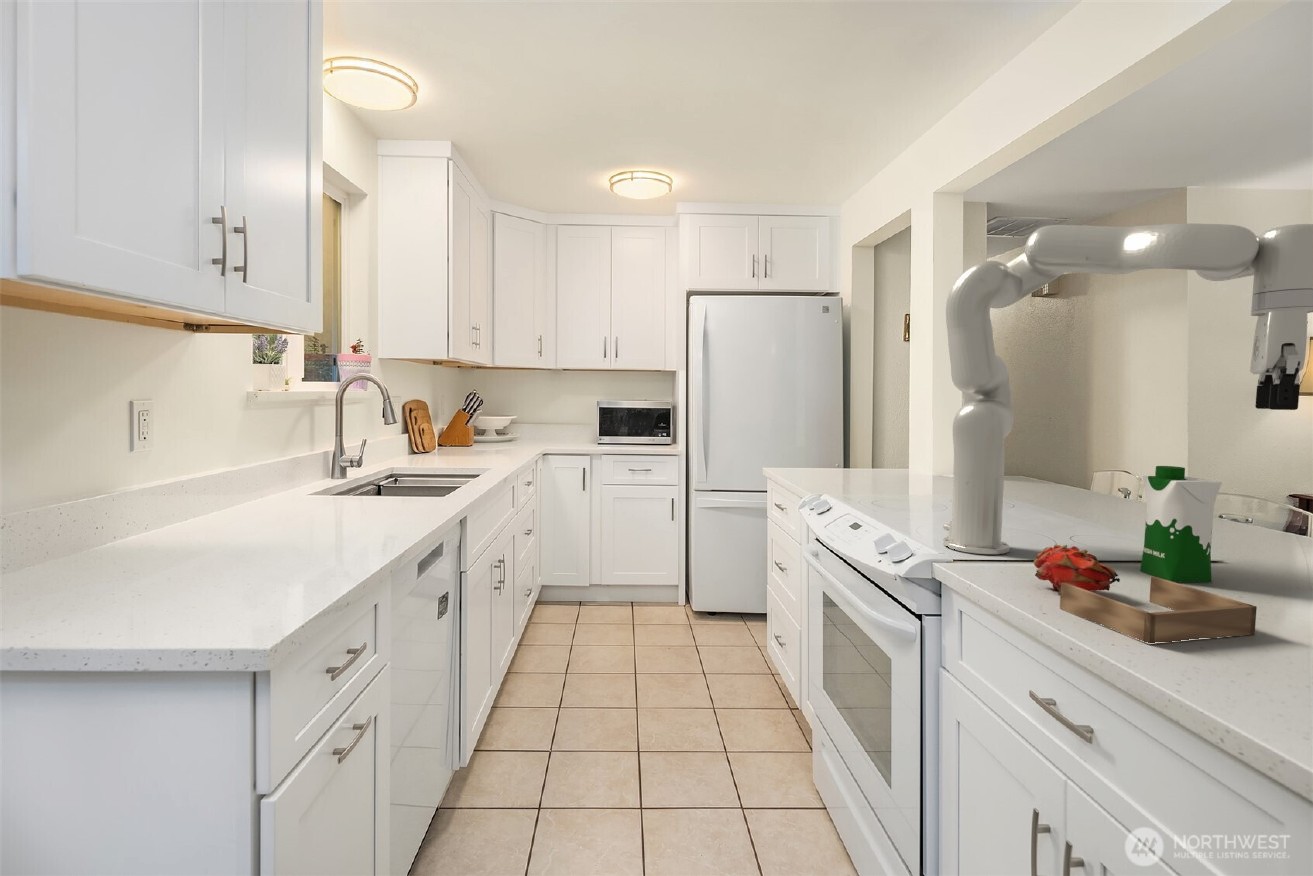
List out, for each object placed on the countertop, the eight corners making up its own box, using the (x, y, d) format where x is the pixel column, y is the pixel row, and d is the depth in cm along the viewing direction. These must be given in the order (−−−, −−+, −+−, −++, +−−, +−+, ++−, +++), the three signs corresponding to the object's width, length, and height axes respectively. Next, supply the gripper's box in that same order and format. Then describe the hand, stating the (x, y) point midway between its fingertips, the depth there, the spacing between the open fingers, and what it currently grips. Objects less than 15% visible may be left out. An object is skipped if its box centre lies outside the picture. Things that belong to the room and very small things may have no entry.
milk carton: (1131, 569, 114) (1137, 464, 112) (1180, 570, 113) (1187, 464, 112) (1169, 584, 105) (1177, 470, 103) (1222, 584, 105) (1231, 470, 103)
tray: (1059, 608, 92) (1061, 583, 92) (1153, 601, 96) (1155, 576, 96) (1149, 645, 79) (1151, 615, 79) (1254, 635, 82) (1256, 606, 82)
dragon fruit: (1026, 591, 106) (1110, 619, 97) (1022, 572, 100) (1109, 600, 92) (1042, 549, 108) (1125, 572, 100) (1038, 528, 102) (1126, 551, 94)
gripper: (1241, 312, 108) (1234, 408, 109) (1263, 299, 94) (1255, 409, 95) (1301, 308, 103) (1293, 408, 104) (1334, 295, 89) (1324, 410, 91)
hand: (1275, 409), depth 100 cm, fingers open, 9 cm apart
